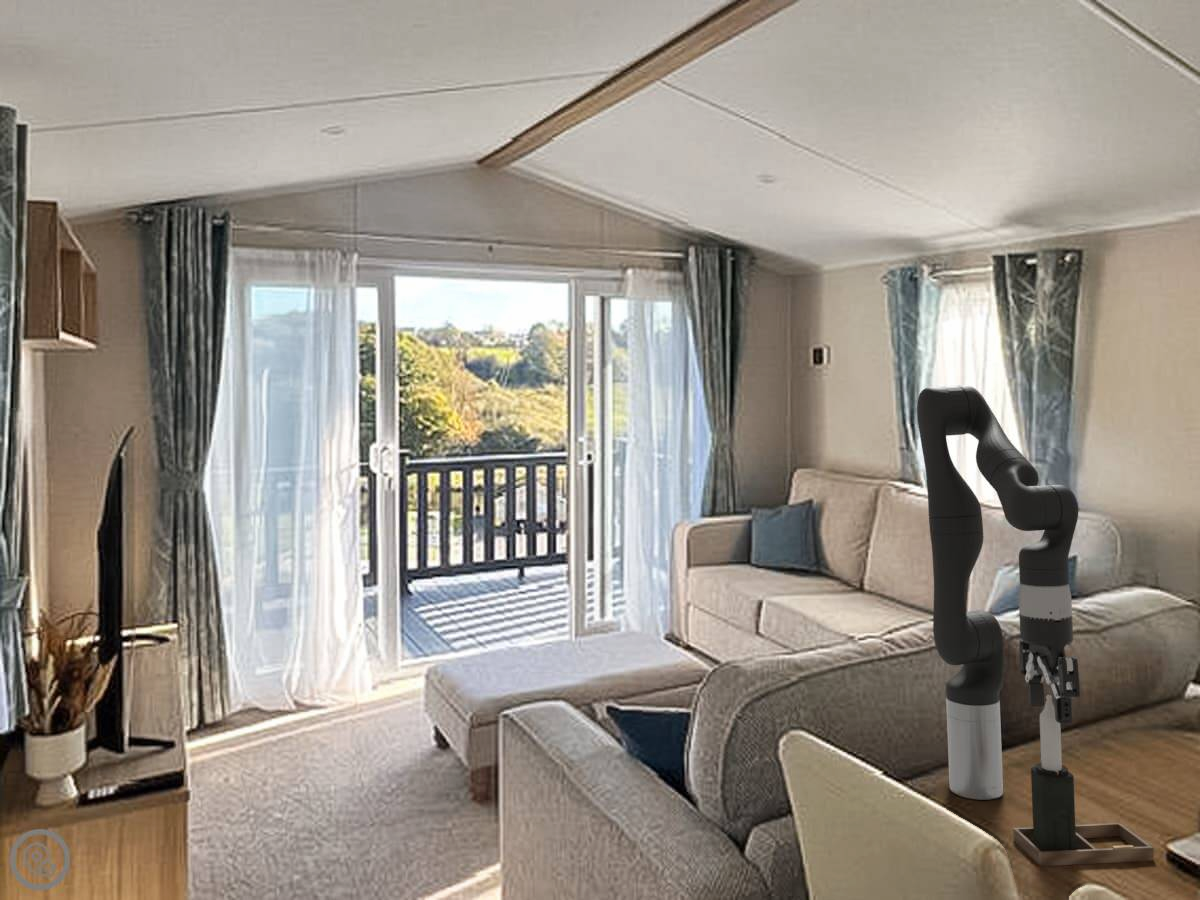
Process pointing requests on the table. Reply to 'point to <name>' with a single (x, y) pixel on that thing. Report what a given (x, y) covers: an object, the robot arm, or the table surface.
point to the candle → (1052, 790)
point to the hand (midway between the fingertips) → (1049, 714)
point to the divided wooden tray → (1088, 846)
